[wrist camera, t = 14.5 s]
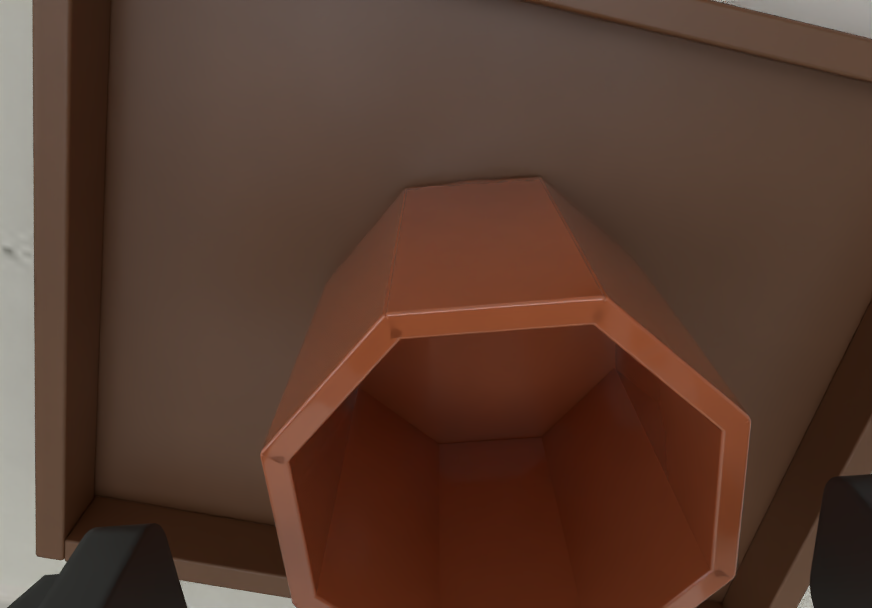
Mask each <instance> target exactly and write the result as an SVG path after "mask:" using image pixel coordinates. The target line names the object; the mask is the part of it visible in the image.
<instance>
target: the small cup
mask: <svg viewBox="0 0 872 608" xmlns="http://www.w3.org/2000/svg"><path fill="white" fill-rule="evenodd" d="M750 429H751V419H750V417H749V415H748V413H747V412H746V411H745V409H744V408H743V407H742V405H741V404H740V402H739V401H738V400H737V398H736V397H735V396H734V394H733V393H732V392H731V390H730V389H729V387H728V386H727V385H726V383H725V382H724V381H723V379H722V378H721V377H720V375H719V374H718V372H717V371H716V370H715V368H714V367H713V366H712V364H711V363H710V362H709V360H708V359H707V357H706V356H705V355H704V353H703V352H702V351H701V349H700V348H699V347H698V345H697V344H696V342H695V341H694V340H693V338H692V337H691V336H690V334H689V333H688V331H687V330H686V329H685V327H684V326H683V325H682V323H681V322H680V321H679V319H678V318H677V316H676V315H675V314H674V312H673V311H672V310H671V308H670V307H669V306H668V304H667V303H666V301H665V300H664V299H663V297H662V296H661V295H660V293H659V292H658V291H657V289H656V288H655V286H654V285H653V284H652V282H651V281H650V280H649V278H648V277H647V276H646V274H645V273H644V271H643V270H642V269H641V267H640V266H639V265H638V263H637V262H636V260H635V259H634V258H633V257H632V256H631V255H630V254H629V253H627V252H626V251H625V250H624V249H623V248H622V247H621V246H619V245H618V244H617V243H616V242H615V241H614V240H613V239H611V238H610V237H609V236H608V235H607V234H606V233H605V232H603V231H602V230H601V229H600V228H599V227H598V226H597V225H595V224H594V223H593V222H592V221H591V220H590V219H589V218H587V217H586V216H585V215H584V214H583V213H582V212H581V211H579V210H578V209H577V208H576V207H575V206H574V205H572V204H571V203H570V202H569V201H568V200H567V199H566V198H564V197H563V196H562V195H561V194H560V193H559V192H558V191H556V190H555V189H554V188H553V187H552V186H551V185H550V184H548V183H547V182H546V181H545V180H544V179H543V178H540V177H531V178H519V179H507V180H468V181H462V182H455V183H450V184H446V185H436V186H424V187H412V188H407V189H405V190H403V192H402V193H401V194H400V195H399V196H398V198H397V199H396V200H395V201H394V202H393V204H392V205H391V206H390V207H389V208H388V210H387V211H386V212H385V213H384V214H383V215H382V217H381V218H380V219H379V220H378V221H377V223H376V224H375V225H374V226H373V227H372V229H371V230H370V231H369V232H368V233H367V235H366V236H365V237H364V238H363V239H362V240H361V242H360V243H359V244H358V245H357V246H356V248H355V249H354V250H353V251H352V252H351V254H350V255H349V256H348V257H347V258H346V260H345V261H344V262H343V263H342V264H341V265H340V267H339V268H338V269H337V270H336V271H335V273H334V274H333V275H332V276H331V277H330V279H329V280H328V281H327V282H326V285H325V287H324V290H323V292H322V295H321V298H320V300H319V303H318V305H317V308H316V310H315V313H314V316H313V318H312V321H311V323H310V326H309V329H308V331H307V334H306V336H305V339H304V342H303V344H302V347H301V349H300V352H299V354H298V357H297V360H296V362H295V365H294V367H293V370H292V373H291V375H290V378H289V380H288V383H287V385H286V388H285V391H284V393H283V396H282V398H281V401H280V404H279V406H278V409H277V411H276V414H275V416H274V419H273V422H272V424H271V427H270V429H269V432H268V435H267V437H266V440H265V442H264V445H263V447H262V450H261V454H260V458H261V462H262V467H263V472H264V476H265V481H266V485H267V490H268V494H269V499H270V503H271V508H272V513H273V517H274V522H275V526H276V531H277V535H278V540H279V544H280V549H281V554H282V558H283V563H284V567H285V572H286V576H287V581H288V586H289V590H290V595H291V599H292V603H293V604H294V605H295V607H297V608H696V607H697V606H698V605H700V604H701V603H702V602H704V601H705V600H706V599H708V598H709V597H710V596H711V595H713V594H714V593H715V592H717V591H718V590H719V589H721V588H722V587H723V586H725V585H726V584H727V583H729V582H730V581H731V580H732V579H733V578H734V576H735V575H736V567H737V557H738V547H739V537H740V527H741V518H742V508H743V498H744V488H745V478H746V468H747V458H748V448H749V439H750Z"/></svg>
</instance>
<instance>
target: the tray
mask: <svg viewBox="0 0 872 608" xmlns="http://www.w3.org/2000/svg"><path fill="white" fill-rule="evenodd" d="M33 158H34V322H35V485H36V555H37V556H38V557H43V558H50V559H56V560H63V559H64V558H65V561H66V562H67V561H68V560H69V558H70V557H71V555H72V553H73V552H74V550H75V549H76V547H77V546H78V544H79V543H80V541H81V539H82V538H83V537H84V535H85V534H86V533H87V532H88V531H89V530H91V529H92V528H95V527H106V526H120V525H134V524H148V523H157V524H159V525H160V526H161V527H162V528H163V530H164V532H165V534H166V537H167V540H168V543H169V547H170V550H171V554H172V557H173V561H174V564H175V568H176V571H177V575H178V578H179V580H183V581H189V582H195V583H201V584H207V585H213V586H219V587H226V588H232V589H238V590H244V591H250V592H256V593H262V594H269V595H275V596H281V597H287V598H291V595H290V590H289V586H288V581H287V576H286V572H285V567H284V563H283V558H282V554H281V549H280V544H279V540H278V535H277V531H276V526H275V522H274V517H273V513H272V508H271V503H270V499H269V494H268V490H267V485H266V481H265V476H264V472H263V467H262V462H261V458H260V454H261V450H262V447H263V445H264V442H265V440H266V437H267V435H268V432H269V429H270V427H271V424H272V422H273V419H274V416H275V414H276V411H277V409H278V406H279V404H280V401H281V398H282V396H283V393H284V391H285V388H286V385H287V383H288V380H289V378H290V375H291V373H292V370H293V367H294V365H295V362H296V360H297V357H298V354H299V352H300V349H301V347H302V344H303V342H304V339H305V336H306V334H307V331H308V329H309V326H310V323H311V321H312V318H313V316H314V313H315V310H316V308H317V305H318V303H319V300H320V298H321V295H322V292H323V290H324V287H325V285H326V282H327V281H328V280H329V279H330V277H331V276H332V275H333V274H334V273H335V271H336V270H337V269H338V268H339V267H340V265H341V264H342V263H343V262H344V261H345V260H346V258H347V257H348V256H349V255H350V254H351V252H352V251H353V250H354V249H355V248H356V246H357V245H358V244H359V243H360V242H361V240H362V239H363V238H364V237H365V236H366V235H367V233H368V232H369V231H370V230H371V229H372V227H373V226H374V225H375V224H376V223H377V221H378V220H379V219H380V218H381V217H382V215H383V214H384V213H385V212H386V211H387V210H388V208H389V207H390V206H391V205H392V204H393V202H394V201H395V200H396V199H397V198H398V196H399V195H400V194H401V193H402V192H403V190H405V189H407V188H412V187H424V186H436V185H446V184H450V183H455V182H462V181H468V180H507V179H519V178H531V177H540V178H543V179H544V180H545V181H546V182H547V183H548V184H550V185H551V186H552V187H553V188H554V189H555V190H556V191H558V192H559V193H560V194H561V195H562V196H563V197H564V198H566V199H567V200H568V201H569V202H570V203H571V204H572V205H574V206H575V207H576V208H577V209H578V210H579V211H581V212H582V213H583V214H584V215H585V216H586V217H587V218H589V219H590V220H591V221H592V222H593V223H594V224H595V225H597V226H598V227H599V228H600V229H601V230H602V231H603V232H605V233H606V234H607V235H608V236H609V237H610V238H611V239H613V240H614V241H615V242H616V243H617V244H618V245H619V246H621V247H622V248H623V249H624V250H625V251H626V252H627V253H629V254H630V255H631V256H632V257H633V258H634V259H635V260H636V262H637V263H638V265H639V266H640V267H641V269H642V270H643V271H644V273H645V274H646V276H647V277H648V278H649V280H650V281H651V282H652V284H653V285H654V286H655V288H656V289H657V291H658V292H659V293H660V295H661V296H662V297H663V299H664V300H665V301H666V303H667V304H668V306H669V307H670V308H671V310H672V311H673V312H674V314H675V315H676V316H677V318H678V319H679V321H680V322H681V323H682V325H683V326H684V327H685V329H686V330H687V331H688V333H689V334H690V336H691V337H692V338H693V340H694V341H695V342H696V344H697V345H698V347H699V348H700V349H701V351H702V352H703V353H704V355H705V356H706V357H707V359H708V360H709V362H710V363H711V364H712V366H713V367H714V368H715V370H716V371H717V372H718V374H719V375H720V377H721V378H722V379H723V381H724V382H725V383H726V385H727V386H728V387H729V389H730V390H731V392H732V393H733V394H734V396H735V397H736V398H737V400H738V401H739V402H740V404H741V405H742V407H743V408H744V409H745V411H746V412H747V413H748V415H749V417H750V419H751V429H750V439H749V448H748V458H747V468H746V478H745V488H744V498H743V508H742V518H741V527H740V537H739V547H738V557H737V567H736V575H735V576H734V578H733V579H732V580H731V581H730V582H729V583H727V584H726V585H725V586H723V587H722V588H721V589H719V590H718V591H717V592H715V593H714V594H713V595H711V596H710V597H709V598H708V599H706V600H705V601H704V602H702V603H701V604H700V605H698V606H697V607H696V608H797V606H798V605H799V603H800V601H801V599H802V597H803V596H804V594H805V592H806V590H807V588H808V586H809V585H810V572H811V566H812V559H813V553H814V547H815V540H816V534H817V528H818V521H819V515H820V509H821V502H822V496H823V491H824V487H825V485H826V483H827V482H828V480H829V479H831V478H832V477H837V476H851V475H865V474H871V472H872V39H870V38H866V37H862V36H858V35H853V34H849V33H845V32H841V31H837V30H833V29H829V28H824V27H820V26H816V25H812V24H808V23H804V22H800V21H795V20H791V19H787V18H783V17H779V16H775V15H771V14H766V13H762V12H758V11H754V10H750V9H746V8H742V7H737V6H733V5H729V4H725V3H721V2H717V1H712V0H33Z"/></svg>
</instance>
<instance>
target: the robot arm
mask: <svg viewBox="0 0 872 608" xmlns="http://www.w3.org/2000/svg"><path fill="white" fill-rule="evenodd" d="M810 591H811V597H812V602H813V606H814V608H872V474H865V475H851V476H837V477H832V478H831V479H829V480H828V482H827V483H826V485H825V487H824V491H823V496H822V502H821V509H820V515H819V521H818V528H817V534H816V540H815V547H814V553H813V559H812V566H811V572H810ZM7 608H187V606H186V602H185V599H184V595H183V592H182V588H181V585H180V581H179V578H178V575H177V571H176V568H175V564H174V561H173V557H172V554H171V550H170V547H169V543H168V540H167V537H166V534H165V532H164V530H163V528H162V527H161V526H160V525H159V524H157V523H148V524H134V525H120V526H106V527H95V528H92V529H91V530H89V531H88V532H87V533H86V534H85V535H84V537H83V538H82V539H81V541H80V543H79V544H78V546H77V547H76V549H75V550H74V552H73V553H72V555H71V557H70V558H69V560H68V561H67V563H66V564H65V566H64V568H63V569H62V571H61V572H60V574H55V575H44V576H43V577H42V578H41V579H40V580H39V581H37V582H36V583H35V584H34V585H33V586H32V587H30V588H29V589H28V590H27V591H26V592H25V593H24V594H22V595H21V596H20V597H19V598H18V599H17V600H15V601H14V602H13V603H12V604H11V605H10V606H9V607H7Z"/></svg>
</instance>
